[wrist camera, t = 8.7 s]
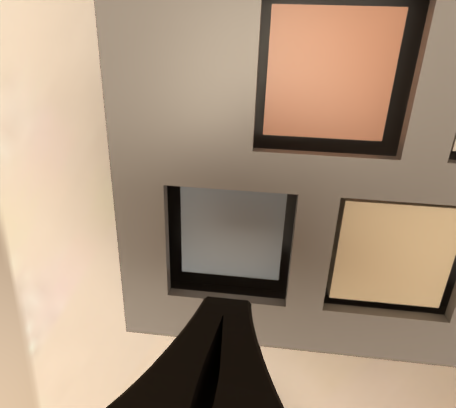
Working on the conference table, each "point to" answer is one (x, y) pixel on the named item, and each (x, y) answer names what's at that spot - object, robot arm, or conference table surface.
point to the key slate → (232, 232)
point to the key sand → (392, 252)
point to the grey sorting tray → (268, 169)
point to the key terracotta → (331, 70)
